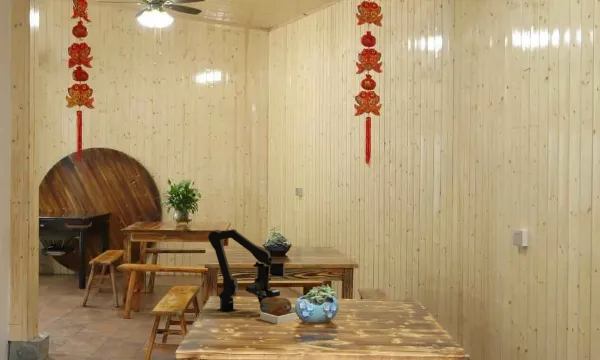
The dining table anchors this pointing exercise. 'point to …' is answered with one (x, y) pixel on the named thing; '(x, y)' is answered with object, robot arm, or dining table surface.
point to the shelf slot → (279, 317)
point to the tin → (275, 306)
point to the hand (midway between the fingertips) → (262, 308)
